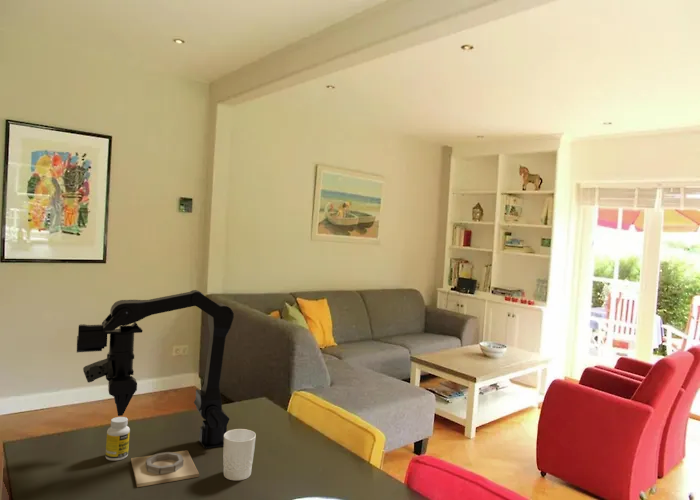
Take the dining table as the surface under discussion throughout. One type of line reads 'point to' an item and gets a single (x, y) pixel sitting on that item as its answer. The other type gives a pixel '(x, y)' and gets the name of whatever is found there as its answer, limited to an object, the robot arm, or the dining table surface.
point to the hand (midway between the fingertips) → (118, 409)
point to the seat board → (163, 468)
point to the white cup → (238, 453)
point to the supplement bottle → (117, 439)
